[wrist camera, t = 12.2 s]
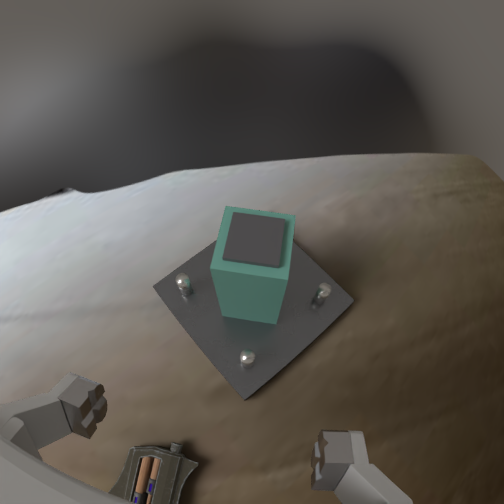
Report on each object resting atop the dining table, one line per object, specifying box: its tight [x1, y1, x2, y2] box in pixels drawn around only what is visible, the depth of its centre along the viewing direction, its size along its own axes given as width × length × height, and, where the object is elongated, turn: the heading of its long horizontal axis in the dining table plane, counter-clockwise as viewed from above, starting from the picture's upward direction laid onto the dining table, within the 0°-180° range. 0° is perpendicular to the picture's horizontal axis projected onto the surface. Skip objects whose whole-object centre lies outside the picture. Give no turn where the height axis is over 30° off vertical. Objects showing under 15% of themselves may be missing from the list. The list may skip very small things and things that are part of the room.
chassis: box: [153, 240, 354, 400], centre depth 30 cm, size 14×14×4 cm
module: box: [210, 206, 295, 324], centre depth 26 cm, size 5×5×10 cm
